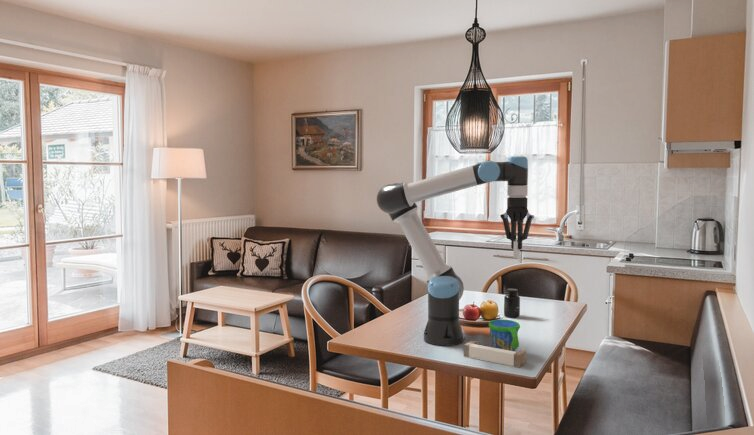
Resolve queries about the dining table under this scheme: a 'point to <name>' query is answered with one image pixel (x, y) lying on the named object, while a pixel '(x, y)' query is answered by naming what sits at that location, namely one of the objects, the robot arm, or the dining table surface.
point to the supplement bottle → (512, 304)
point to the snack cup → (504, 334)
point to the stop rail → (495, 354)
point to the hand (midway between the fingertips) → (516, 257)
